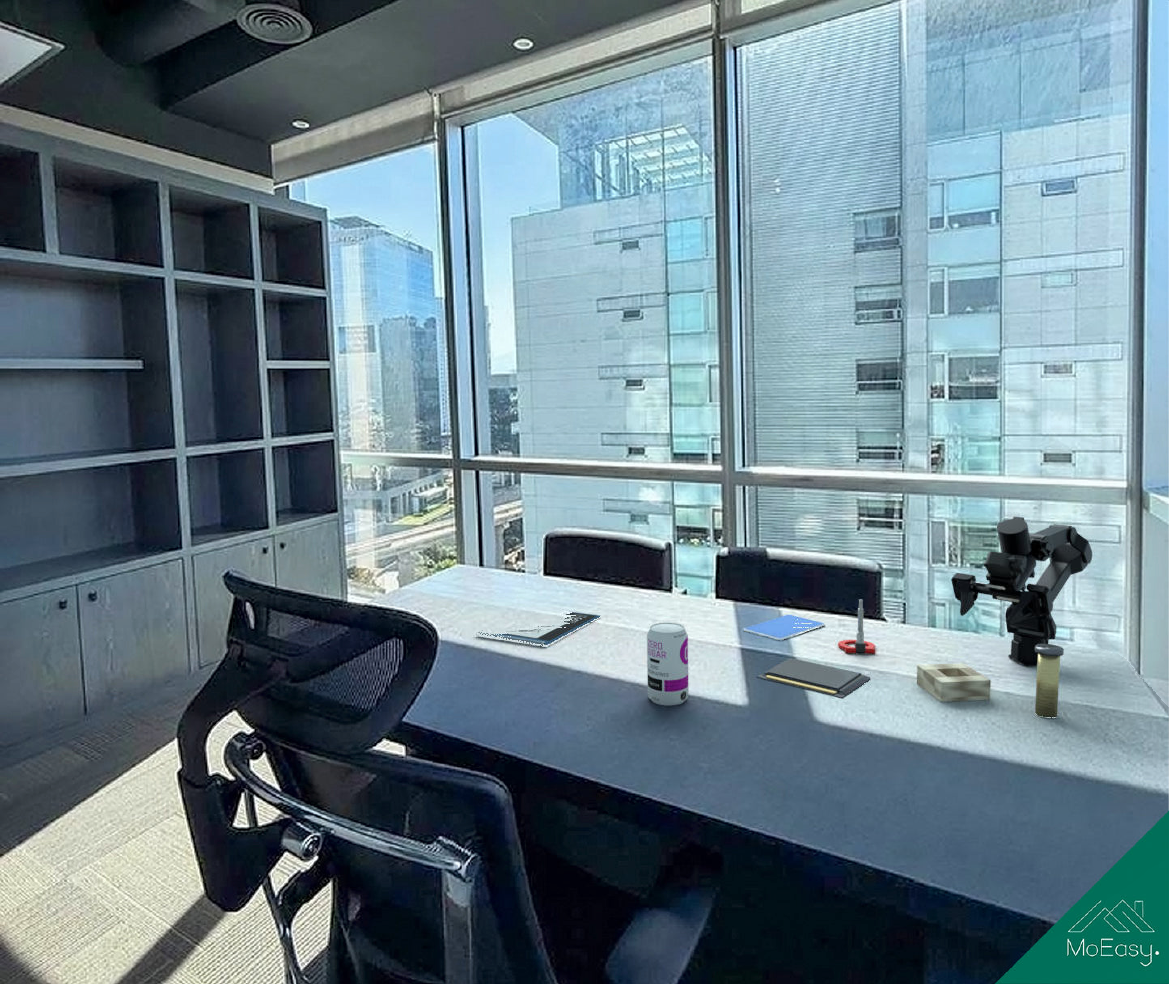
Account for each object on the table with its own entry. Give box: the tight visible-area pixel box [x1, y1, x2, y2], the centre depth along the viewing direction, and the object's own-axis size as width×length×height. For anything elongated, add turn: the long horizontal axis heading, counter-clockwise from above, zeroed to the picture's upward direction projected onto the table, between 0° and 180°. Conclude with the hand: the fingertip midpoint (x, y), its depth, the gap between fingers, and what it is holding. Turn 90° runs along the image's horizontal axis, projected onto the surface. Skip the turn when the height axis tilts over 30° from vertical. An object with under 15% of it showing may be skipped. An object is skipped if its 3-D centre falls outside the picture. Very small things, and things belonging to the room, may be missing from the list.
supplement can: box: [646, 622, 689, 707], centre depth 159 cm, size 8×8×15 cm
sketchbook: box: [477, 611, 601, 646], centre depth 212 cm, size 22×30×2 cm
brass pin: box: [1034, 643, 1065, 718], centre depth 147 cm, size 5×5×13 cm
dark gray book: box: [756, 657, 871, 699], centre depth 170 cm, size 20×2×15 cm
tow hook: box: [837, 599, 876, 655], centre depth 188 cm, size 8×13×9 cm
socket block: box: [916, 662, 992, 703], centre depth 160 cm, size 10×10×4 cm
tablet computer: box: [742, 614, 826, 641], centre depth 206 cm, size 19×13×1 cm, turn 128°
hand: (984, 618), depth 159 cm, fingers open, 9 cm apart
